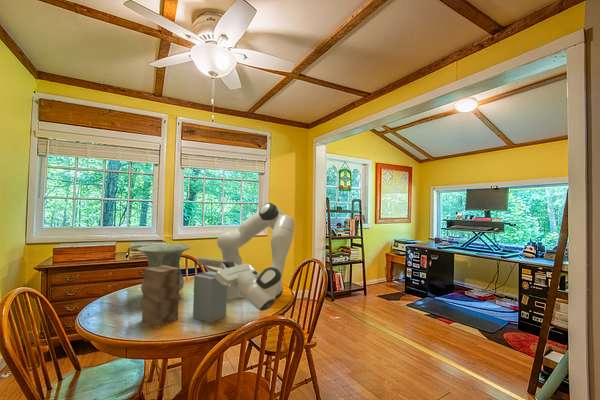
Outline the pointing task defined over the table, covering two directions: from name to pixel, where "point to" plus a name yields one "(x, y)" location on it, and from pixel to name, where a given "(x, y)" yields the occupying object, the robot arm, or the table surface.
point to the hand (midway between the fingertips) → (225, 263)
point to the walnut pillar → (160, 295)
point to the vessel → (164, 257)
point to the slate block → (209, 297)
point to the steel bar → (214, 262)
